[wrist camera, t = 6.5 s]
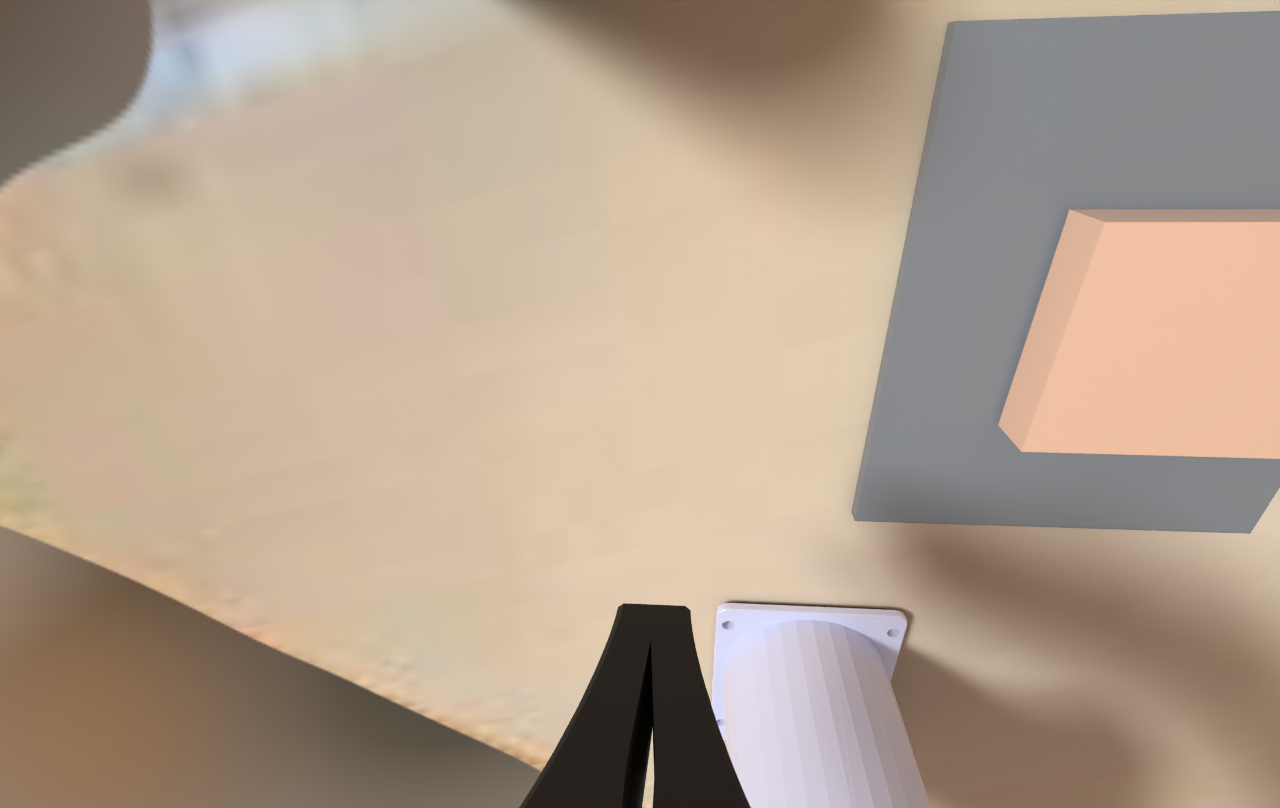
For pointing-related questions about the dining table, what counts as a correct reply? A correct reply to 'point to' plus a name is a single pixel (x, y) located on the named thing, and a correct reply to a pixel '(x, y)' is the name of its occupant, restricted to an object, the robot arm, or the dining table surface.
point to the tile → (1155, 337)
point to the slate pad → (1026, 244)
